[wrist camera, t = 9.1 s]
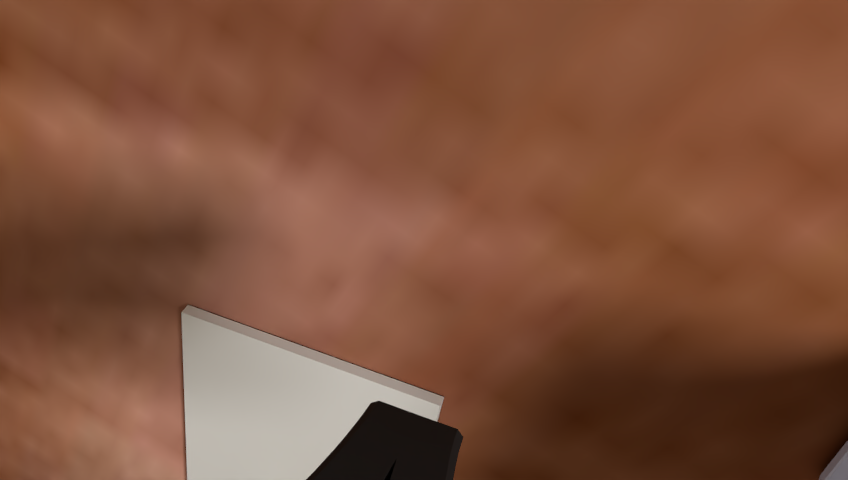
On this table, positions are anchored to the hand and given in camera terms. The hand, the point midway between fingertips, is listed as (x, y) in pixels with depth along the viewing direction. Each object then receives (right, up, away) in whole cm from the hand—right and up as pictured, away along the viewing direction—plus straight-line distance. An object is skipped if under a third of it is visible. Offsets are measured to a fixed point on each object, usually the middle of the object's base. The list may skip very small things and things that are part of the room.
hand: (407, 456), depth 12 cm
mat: (-5, -8, +20) cm, 22 cm away
